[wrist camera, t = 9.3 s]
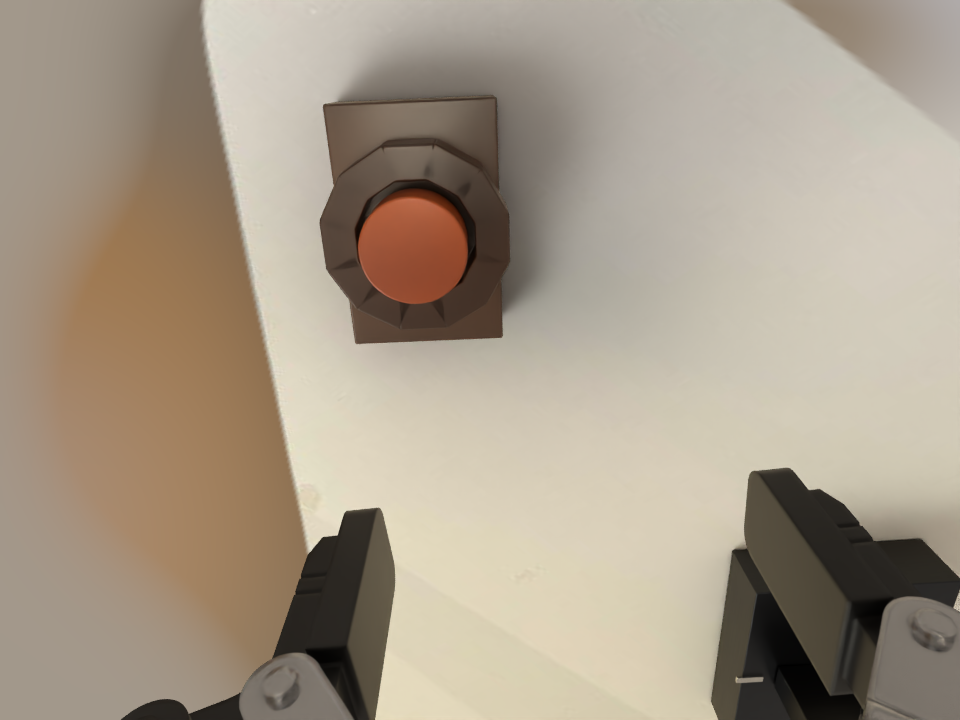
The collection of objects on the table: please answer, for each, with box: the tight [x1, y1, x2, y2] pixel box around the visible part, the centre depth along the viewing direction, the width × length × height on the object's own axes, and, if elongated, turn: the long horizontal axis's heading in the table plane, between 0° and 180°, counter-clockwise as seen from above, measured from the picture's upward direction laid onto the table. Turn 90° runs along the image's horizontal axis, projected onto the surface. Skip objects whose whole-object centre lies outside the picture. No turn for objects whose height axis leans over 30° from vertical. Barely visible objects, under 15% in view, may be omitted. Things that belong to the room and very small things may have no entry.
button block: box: [320, 95, 510, 344], centre depth 23 cm, size 9×6×4 cm
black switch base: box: [711, 539, 960, 720], centre depth 33 cm, size 12×11×3 cm
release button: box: [358, 188, 468, 304], centre depth 21 cm, size 4×4×2 cm
